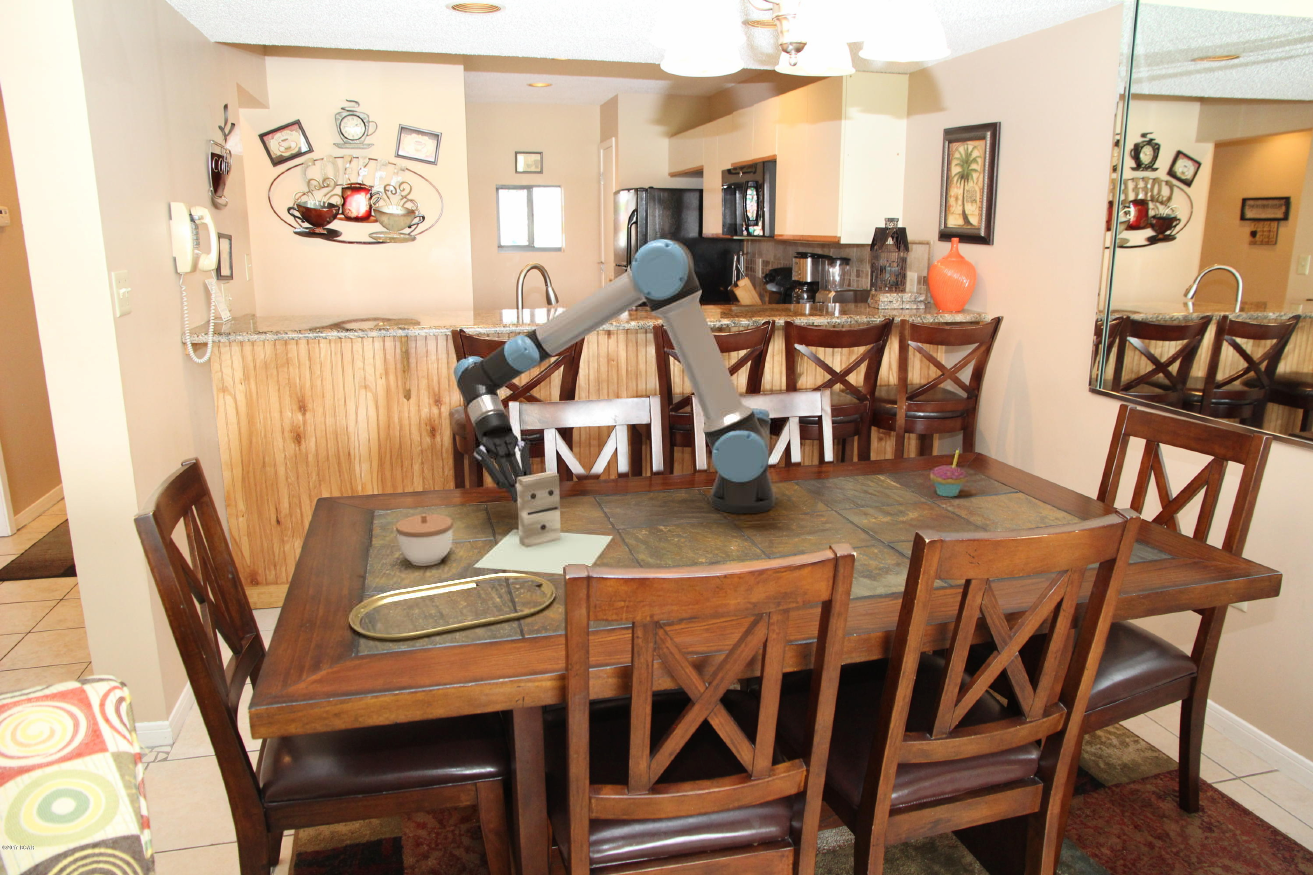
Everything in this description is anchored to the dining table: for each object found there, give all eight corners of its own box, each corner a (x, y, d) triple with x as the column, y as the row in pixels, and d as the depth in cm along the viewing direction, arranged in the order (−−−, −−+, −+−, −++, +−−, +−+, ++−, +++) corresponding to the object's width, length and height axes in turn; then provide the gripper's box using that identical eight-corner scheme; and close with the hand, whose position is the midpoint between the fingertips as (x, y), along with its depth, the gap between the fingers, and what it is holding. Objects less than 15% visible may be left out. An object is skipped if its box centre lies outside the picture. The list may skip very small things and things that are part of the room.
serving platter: (570, 612, 153) (570, 603, 153) (357, 653, 139) (356, 643, 139) (536, 574, 170) (536, 567, 170) (343, 608, 155) (342, 599, 155)
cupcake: (969, 492, 220) (973, 445, 217) (960, 501, 213) (964, 452, 210) (934, 487, 224) (937, 440, 221) (924, 495, 217) (927, 447, 214)
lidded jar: (405, 574, 169) (401, 527, 167) (393, 556, 179) (390, 511, 176) (461, 564, 174) (458, 518, 172) (446, 547, 183) (444, 503, 181)
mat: (613, 538, 188) (613, 536, 188) (583, 578, 167) (583, 575, 167) (513, 532, 192) (513, 529, 192) (473, 569, 171) (473, 566, 171)
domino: (519, 543, 184) (516, 477, 181) (553, 535, 188) (551, 471, 185) (526, 547, 181) (524, 481, 178) (561, 539, 186) (559, 474, 183)
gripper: (512, 426, 202) (550, 516, 192) (457, 434, 194) (494, 528, 185) (522, 407, 196) (561, 498, 187) (466, 414, 189) (504, 510, 180)
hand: (528, 513), depth 186 cm, fingers closed
